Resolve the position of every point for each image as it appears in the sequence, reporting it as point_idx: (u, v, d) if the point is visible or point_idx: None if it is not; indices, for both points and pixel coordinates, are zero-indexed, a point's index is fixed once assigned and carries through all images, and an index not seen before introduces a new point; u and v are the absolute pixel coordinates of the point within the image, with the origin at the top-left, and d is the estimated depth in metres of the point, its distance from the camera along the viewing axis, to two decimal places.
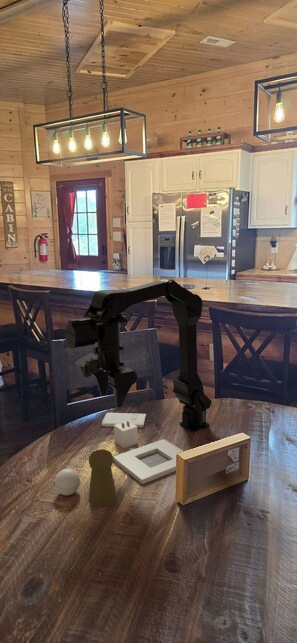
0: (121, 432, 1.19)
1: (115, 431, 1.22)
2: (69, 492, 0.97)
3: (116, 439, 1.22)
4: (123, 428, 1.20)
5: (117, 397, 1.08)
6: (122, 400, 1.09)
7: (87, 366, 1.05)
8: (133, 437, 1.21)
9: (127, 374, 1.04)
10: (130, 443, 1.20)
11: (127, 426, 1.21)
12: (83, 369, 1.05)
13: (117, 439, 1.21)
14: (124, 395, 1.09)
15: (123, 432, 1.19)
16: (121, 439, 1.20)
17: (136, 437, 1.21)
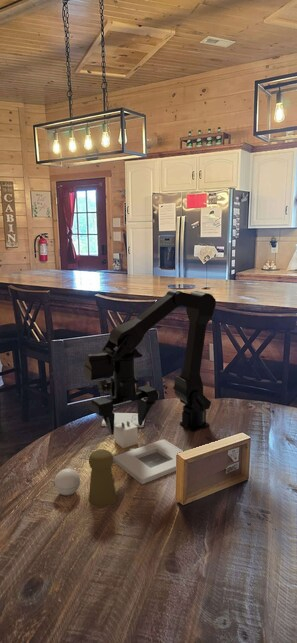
0: (121, 432, 1.19)
1: (115, 431, 1.22)
2: (69, 492, 0.97)
3: (116, 439, 1.22)
4: (123, 428, 1.20)
5: (106, 423, 1.19)
6: (110, 429, 1.18)
7: None
8: (133, 437, 1.21)
9: (95, 404, 1.14)
10: (130, 443, 1.20)
11: (127, 426, 1.21)
12: None
13: (117, 439, 1.21)
14: (109, 425, 1.17)
15: (123, 432, 1.19)
16: (121, 439, 1.20)
17: (136, 437, 1.21)
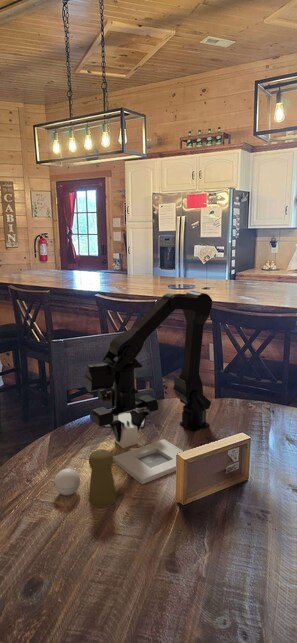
0: (121, 431, 1.19)
1: None
2: (69, 492, 0.97)
3: None
4: (123, 428, 1.20)
5: None
6: (116, 436, 1.20)
7: None
8: (133, 437, 1.21)
9: (95, 414, 1.15)
10: (130, 443, 1.20)
11: (127, 426, 1.21)
12: None
13: None
14: (116, 433, 1.19)
15: (123, 432, 1.19)
16: (121, 439, 1.20)
17: (136, 437, 1.21)
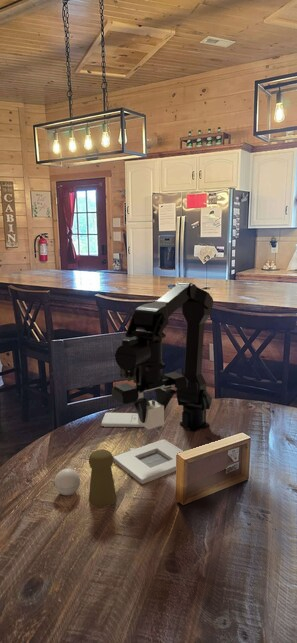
0: (146, 411, 1.07)
1: None
2: (69, 492, 0.97)
3: None
4: (148, 407, 1.08)
5: (136, 410, 1.08)
6: (141, 417, 1.08)
7: None
8: (159, 417, 1.09)
9: (118, 390, 1.03)
10: (156, 424, 1.08)
11: (152, 405, 1.09)
12: None
13: None
14: (140, 412, 1.07)
15: (148, 411, 1.07)
16: (146, 419, 1.08)
17: (162, 417, 1.09)
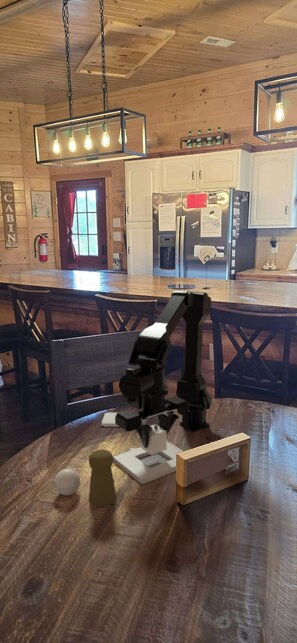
0: (149, 437, 1.08)
1: None
2: (69, 492, 0.97)
3: None
4: (151, 432, 1.09)
5: (139, 436, 1.09)
6: (144, 442, 1.08)
7: None
8: (162, 442, 1.10)
9: (121, 418, 1.04)
10: (159, 449, 1.09)
11: (155, 430, 1.10)
12: None
13: None
14: (143, 438, 1.08)
15: (151, 437, 1.07)
16: (149, 445, 1.09)
17: (165, 442, 1.10)
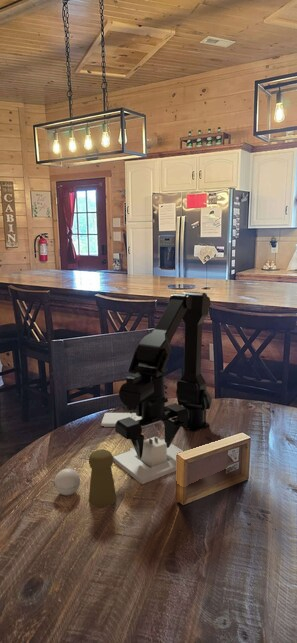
0: (149, 449, 1.09)
1: None
2: (69, 492, 0.97)
3: (143, 457, 1.11)
4: (151, 445, 1.09)
5: (133, 445, 1.09)
6: (138, 452, 1.08)
7: None
8: (162, 455, 1.10)
9: (121, 426, 1.04)
10: (159, 461, 1.10)
11: (155, 443, 1.10)
12: None
13: (144, 457, 1.11)
14: (137, 448, 1.07)
15: (151, 450, 1.08)
16: (149, 457, 1.09)
17: (165, 455, 1.11)
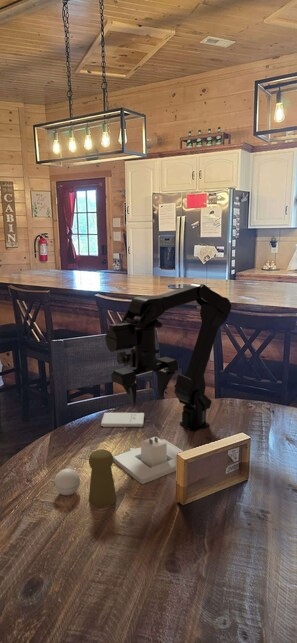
0: (149, 449, 1.09)
1: (142, 448, 1.11)
2: (69, 492, 0.97)
3: (143, 457, 1.11)
4: (151, 445, 1.09)
5: (127, 394, 1.17)
6: (132, 400, 1.17)
7: None
8: (162, 455, 1.10)
9: (117, 374, 1.13)
10: (159, 461, 1.10)
11: (155, 443, 1.10)
12: None
13: (144, 457, 1.11)
14: (131, 396, 1.16)
15: (151, 450, 1.08)
16: (149, 457, 1.09)
17: (165, 455, 1.11)
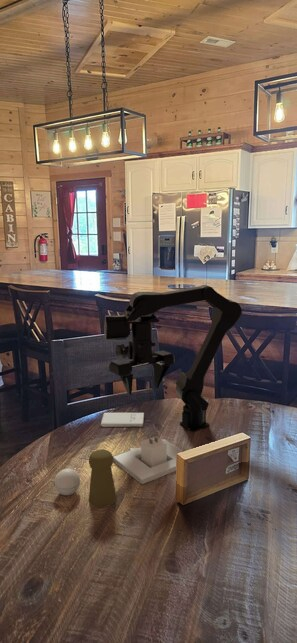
0: (149, 449, 1.09)
1: (142, 448, 1.11)
2: (69, 492, 0.97)
3: (143, 457, 1.11)
4: (151, 445, 1.09)
5: (124, 384, 1.24)
6: (128, 390, 1.23)
7: None
8: (162, 455, 1.10)
9: (114, 364, 1.20)
10: (159, 461, 1.10)
11: (155, 443, 1.10)
12: None
13: (144, 457, 1.11)
14: (127, 386, 1.22)
15: (151, 450, 1.08)
16: (149, 457, 1.09)
17: (165, 455, 1.11)
